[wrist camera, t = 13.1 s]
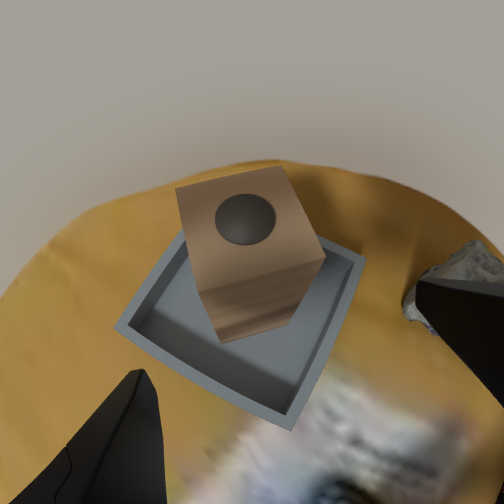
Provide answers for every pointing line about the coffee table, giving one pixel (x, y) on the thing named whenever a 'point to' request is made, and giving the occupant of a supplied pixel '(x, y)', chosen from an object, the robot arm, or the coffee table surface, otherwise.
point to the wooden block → (249, 250)
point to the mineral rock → (459, 274)
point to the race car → (500, 497)
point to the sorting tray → (246, 349)
